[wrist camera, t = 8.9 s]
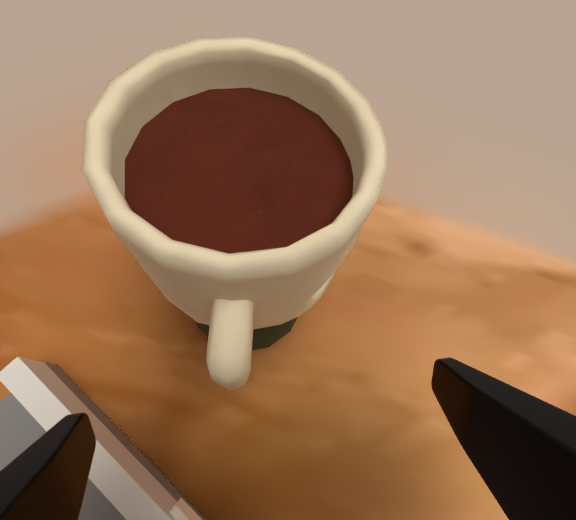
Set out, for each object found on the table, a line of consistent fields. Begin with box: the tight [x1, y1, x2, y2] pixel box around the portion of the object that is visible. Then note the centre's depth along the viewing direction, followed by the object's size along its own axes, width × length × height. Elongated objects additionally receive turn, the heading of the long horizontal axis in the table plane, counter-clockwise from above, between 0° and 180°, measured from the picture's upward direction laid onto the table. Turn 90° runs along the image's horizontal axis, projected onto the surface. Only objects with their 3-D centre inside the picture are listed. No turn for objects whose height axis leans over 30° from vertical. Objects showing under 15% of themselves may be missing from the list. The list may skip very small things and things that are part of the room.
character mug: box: [82, 37, 387, 391], centre depth 14 cm, size 11×7×13 cm, turn 179°
